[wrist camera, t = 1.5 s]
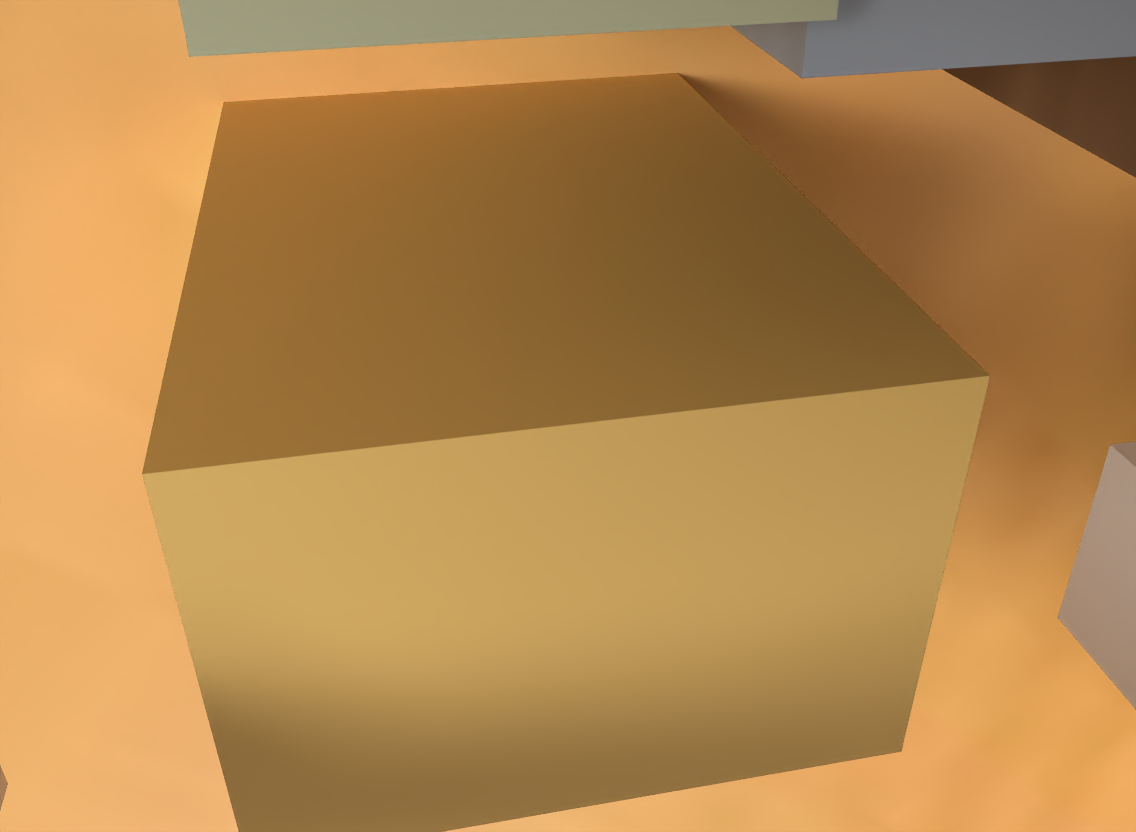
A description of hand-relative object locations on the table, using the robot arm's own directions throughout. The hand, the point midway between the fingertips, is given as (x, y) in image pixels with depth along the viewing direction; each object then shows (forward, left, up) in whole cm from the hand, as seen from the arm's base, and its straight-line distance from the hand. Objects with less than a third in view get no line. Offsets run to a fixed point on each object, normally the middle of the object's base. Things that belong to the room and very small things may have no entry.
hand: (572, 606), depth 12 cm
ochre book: (0, 0, -10) cm, 10 cm away
